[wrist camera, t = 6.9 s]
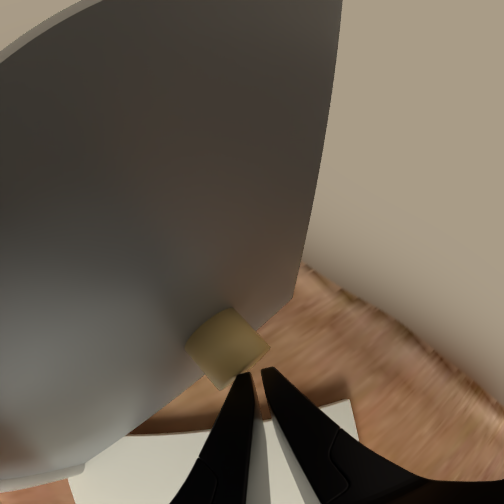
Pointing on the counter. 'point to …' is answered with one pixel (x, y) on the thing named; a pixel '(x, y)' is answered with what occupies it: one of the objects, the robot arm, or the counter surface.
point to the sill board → (179, 465)
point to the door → (148, 209)
